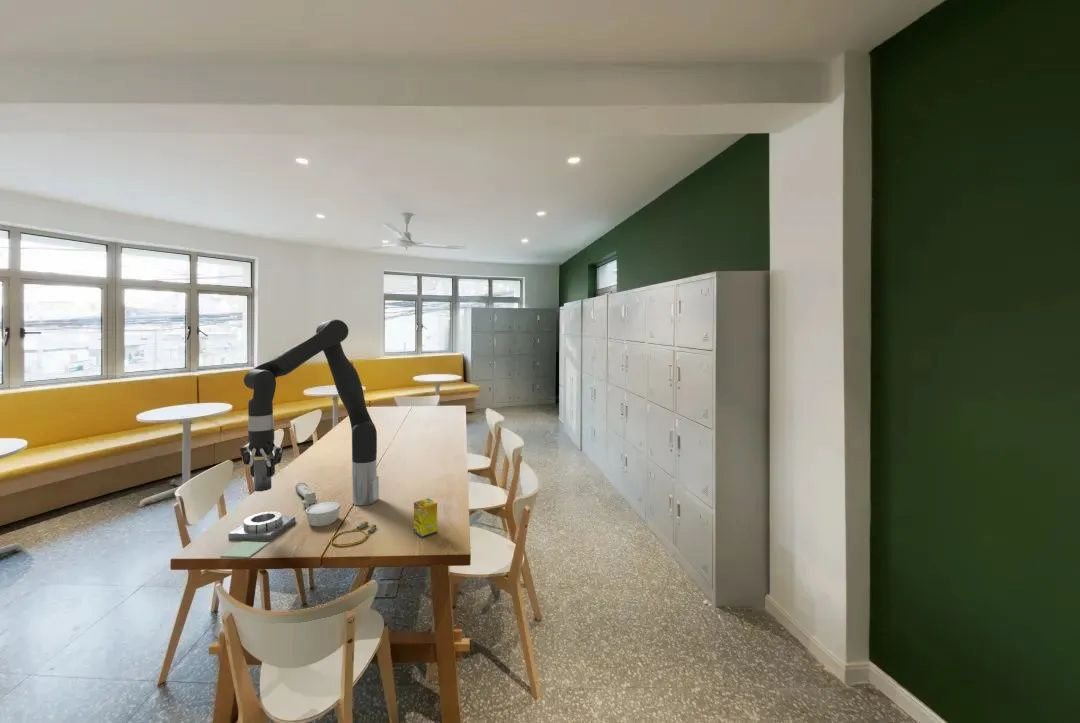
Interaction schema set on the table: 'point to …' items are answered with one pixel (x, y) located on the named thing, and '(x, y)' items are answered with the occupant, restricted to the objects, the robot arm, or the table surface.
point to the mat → (244, 549)
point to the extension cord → (356, 530)
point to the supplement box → (425, 517)
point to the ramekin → (322, 513)
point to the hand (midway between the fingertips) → (262, 476)
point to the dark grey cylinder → (261, 474)
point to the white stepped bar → (306, 495)
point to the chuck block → (262, 526)
